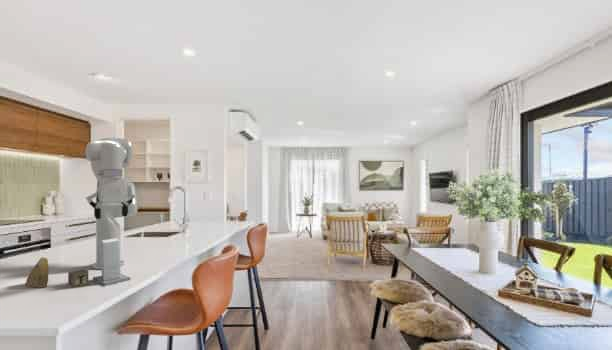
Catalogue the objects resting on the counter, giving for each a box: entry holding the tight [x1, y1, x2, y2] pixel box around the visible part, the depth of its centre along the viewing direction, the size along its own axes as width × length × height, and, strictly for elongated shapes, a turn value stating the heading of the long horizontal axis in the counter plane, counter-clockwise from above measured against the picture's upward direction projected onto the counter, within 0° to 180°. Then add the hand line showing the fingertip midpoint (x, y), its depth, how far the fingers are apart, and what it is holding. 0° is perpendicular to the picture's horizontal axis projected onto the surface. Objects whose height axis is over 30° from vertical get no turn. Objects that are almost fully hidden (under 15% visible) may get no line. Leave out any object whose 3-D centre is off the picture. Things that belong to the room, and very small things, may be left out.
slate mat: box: [92, 273, 131, 287], centre depth 127 cm, size 12×9×1 cm
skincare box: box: [101, 238, 122, 281], centre depth 127 cm, size 8×6×15 cm
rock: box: [24, 257, 49, 288], centre depth 120 cm, size 11×9×10 cm
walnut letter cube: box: [67, 268, 89, 288], centre depth 121 cm, size 5×5×5 cm
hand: (111, 217), depth 127 cm, fingers open, 9 cm apart
